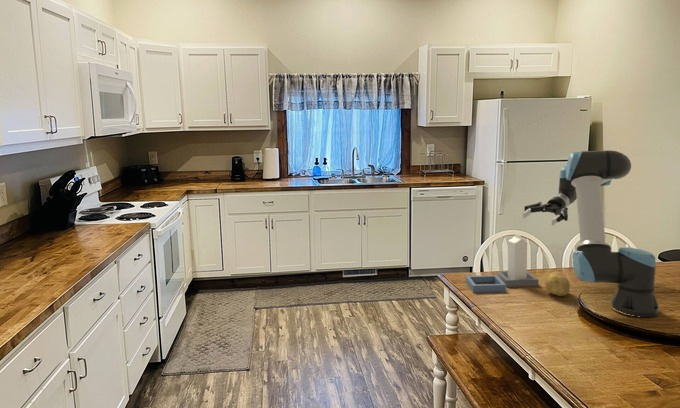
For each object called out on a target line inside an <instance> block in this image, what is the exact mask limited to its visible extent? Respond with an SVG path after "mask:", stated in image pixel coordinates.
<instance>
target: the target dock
mask: <svg viewBox="0 0 680 408" xmlns="http://www.w3.org/2000/svg"><path fill="white" fill-rule="evenodd" d="M476 282H477V283H476ZM478 282H487V283H478ZM489 282H494V283H490V284H489ZM465 283H466V285H467V284H468V285H467V286H468V288H469V287H470V288H471V289H470V288H469V289H470V290H471V292H472V291H473V292H472V293H495V292H496V293H501V292H507V287H506V284H505V283H504V282H503V281H502V280H501V279H500V278H499V277H498V276H497V274H495V275H493V274H492V275H491V274H490V275H466V276H465Z"/></svg>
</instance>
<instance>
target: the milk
mask: <svg viewBox="0 0 680 408" xmlns="http://www.w3.org/2000/svg"><path fill="white" fill-rule="evenodd" d="M507 243H508V244H507V248H508V249H507V252H508V253H507V271H508V279H527V271H528V270H527V269H528V268H527V267H528V242H527V241H525V240H523V239H522V235H520V234H517V233H514V235H513V237H512V238H510V239H509V240H507Z"/></svg>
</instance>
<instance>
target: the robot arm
mask: <svg viewBox="0 0 680 408" xmlns="http://www.w3.org/2000/svg"><path fill="white" fill-rule="evenodd" d="M631 170H632V163H631V159H630V158H629V157H628V156H627V155H625V154H624V153H623V152H620V151H617V150H611V149H609V150H581V151H572V152H571V153H569V155H568V159H567V163H566V165H565V166H562V167H561V168H560V171H559V182H558V183H559V184H558V193H557V194H555V196H553V197H552V198H550V199H549V200H548V201H547V202H546V203H544V204H543V203H542V202H541V201H539V202H537V203H532V204H529V205H526V206H524V211H523V212H522V219H525V218H526V219H527V217H528V216H530V215H531V213H540V212H541V213H551V214H554V215H555V217H553V218H552V219H551V226H554V225H556V224H557V223H560V222H561V221H565V222H567V221H569V219H568V218H569V214H568V213H569V212H568V211H569V208H568V207H569V206H570V205H571V204H573V203H575V201H576V204H577V206H576V207H577V216H578V217H577V219H578V227H579V228H578V229H579V240H580V243H579V244H578V245H577V246H576V250H574V251H573V252H572V265H573V266H572V267H573V270H574V274H575V276H576V278H577V279H578V280H579V281H580V282H583V283H585V282H586V283H591V284H594V283H597V284H599V283H603V284H617V285H616V287H617V288H616V291H615V293H614V295H613V298H612V300H611V302H610V305H612V307H613V308H615V309H616V310H618V311H621V312H623V313H626V314H630V315H634V316H640V317H650V318H654V317H653V316H655V317H657V316H658V315H659V309H660V308H659V305H658V301H657V299H656V296H655V278H656V277H655V276H656V268H657V265H656V256H655V255H654V254H653V252H650V251H647V250H645V249H641V248H640V249H639V248H636V247H635V248H634V247H625V246H622V247H619V248H618V251H612V247H611V245H610V244H608V243H607V242H606V234H605V233H606V231H605V225H604V215H603V204H602V195H601V187H604V186H605V187H607V186H610V185H611V183H612V180H619V179H622V178H624V177H626V176H628V174H629V173H630V171H631ZM640 317H639V318H640Z"/></svg>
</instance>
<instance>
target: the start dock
mask: <svg viewBox="0 0 680 408" xmlns="http://www.w3.org/2000/svg"><path fill="white" fill-rule="evenodd" d="M496 273H497V274H496V275H497V276H498V277H499V278H500V279H501V280H502V281H503V282H504V283H505V284H506V288H513V287H514V288H517V287H519V288H520V287H521V286H526V287H539V279H538V277H536V276H535V275H534V274H532V273H531V272H530V271H529V270H527V279H508V270H502V271H498V270H497V271H496ZM521 288H522V287H521Z"/></svg>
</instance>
